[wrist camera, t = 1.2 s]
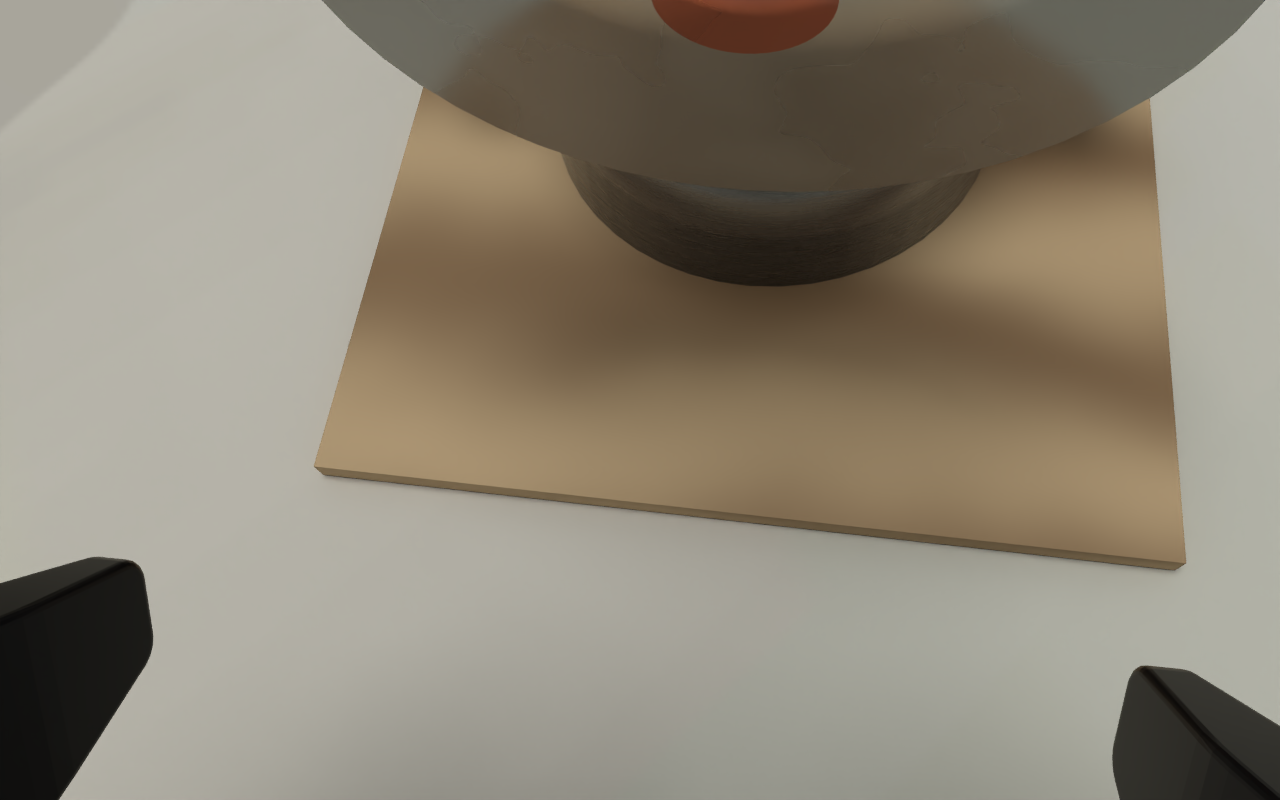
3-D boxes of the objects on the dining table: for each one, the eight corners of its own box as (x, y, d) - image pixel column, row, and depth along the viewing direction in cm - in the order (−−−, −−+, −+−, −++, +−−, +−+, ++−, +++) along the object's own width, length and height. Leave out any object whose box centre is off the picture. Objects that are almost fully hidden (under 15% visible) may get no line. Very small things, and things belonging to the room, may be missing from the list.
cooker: (1101, 313, 24) (1213, 158, 18) (428, 260, 26) (347, 107, 20) (1083, -49, 28) (1168, -261, 23) (514, -68, 31) (467, -264, 25)
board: (1174, 570, 22) (1186, 563, 21) (323, 474, 24) (313, 466, 24) (1120, -171, 31) (1127, -189, 30) (509, -180, 34) (505, -197, 33)
